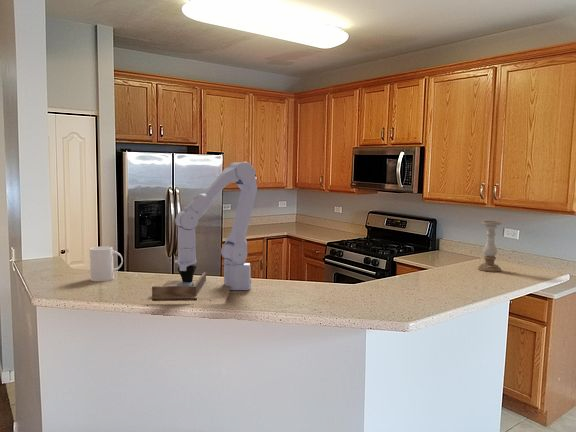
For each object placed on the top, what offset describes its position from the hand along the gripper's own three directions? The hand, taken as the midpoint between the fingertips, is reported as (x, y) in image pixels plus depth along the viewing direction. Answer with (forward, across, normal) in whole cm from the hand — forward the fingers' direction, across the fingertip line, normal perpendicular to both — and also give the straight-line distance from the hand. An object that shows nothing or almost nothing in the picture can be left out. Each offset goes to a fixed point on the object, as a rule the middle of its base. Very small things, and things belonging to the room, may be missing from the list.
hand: (187, 287), depth 150 cm
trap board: (+2, -3, -3) cm, 5 cm away
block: (+1, +4, 0) cm, 4 cm away
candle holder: (+2, -35, +119) cm, 124 cm away
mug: (+2, -23, -35) cm, 42 cm away
